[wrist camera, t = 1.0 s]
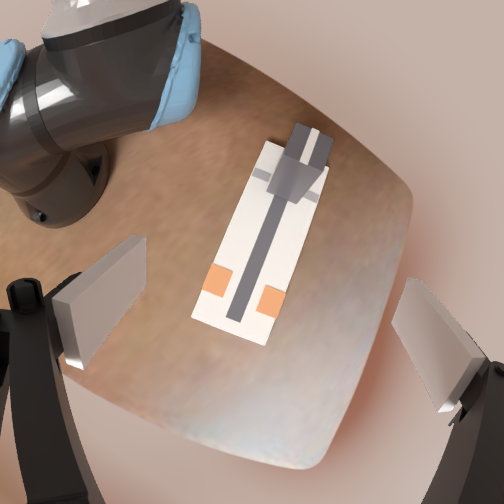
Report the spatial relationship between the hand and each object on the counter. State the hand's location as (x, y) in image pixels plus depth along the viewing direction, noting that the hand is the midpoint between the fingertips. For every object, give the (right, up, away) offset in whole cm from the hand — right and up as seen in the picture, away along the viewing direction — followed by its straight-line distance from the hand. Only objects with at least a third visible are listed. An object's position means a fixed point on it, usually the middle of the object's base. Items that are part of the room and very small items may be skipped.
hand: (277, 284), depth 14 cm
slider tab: (+3, +10, +23) cm, 25 cm away
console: (0, +3, +24) cm, 24 cm away
